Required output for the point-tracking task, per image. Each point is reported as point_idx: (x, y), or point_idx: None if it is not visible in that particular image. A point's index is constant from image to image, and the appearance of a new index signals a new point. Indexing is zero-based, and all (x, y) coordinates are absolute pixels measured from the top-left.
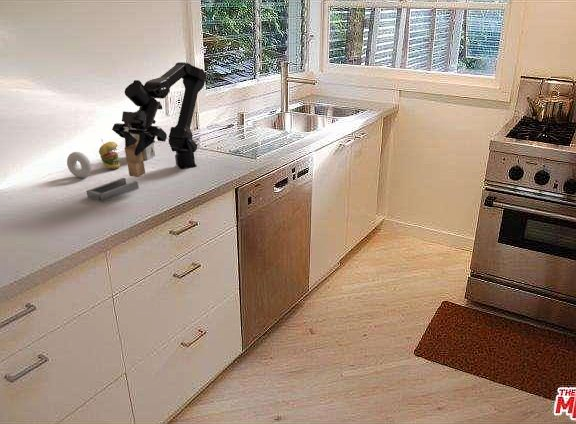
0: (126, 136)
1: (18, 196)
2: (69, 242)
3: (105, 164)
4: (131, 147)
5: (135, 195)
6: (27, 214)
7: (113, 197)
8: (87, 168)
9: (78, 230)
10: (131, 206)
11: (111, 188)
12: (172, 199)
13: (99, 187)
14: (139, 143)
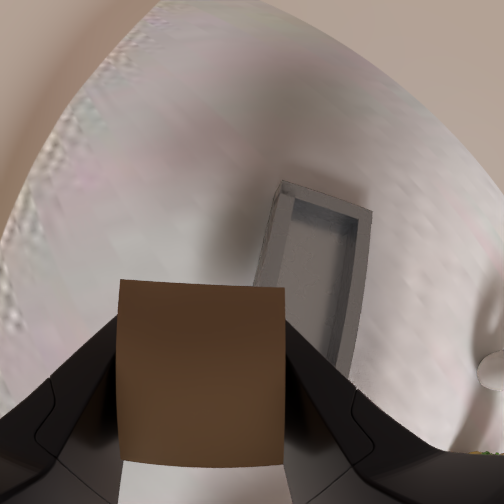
0: (415, 472)
1: (489, 196)
2: (180, 24)
3: (472, 453)
4: (180, 328)
5: None
6: (390, 104)
7: (264, 242)
8: (491, 368)
9: (197, 50)
10: (135, 189)
11: (335, 314)
12: (25, 291)
13: (355, 255)
14: (54, 396)
